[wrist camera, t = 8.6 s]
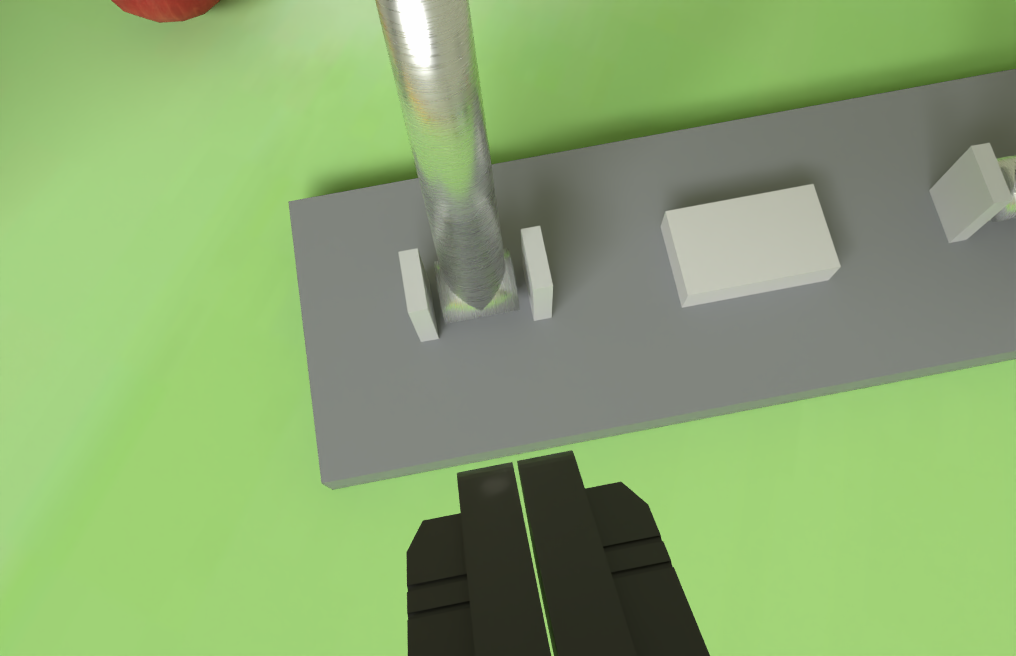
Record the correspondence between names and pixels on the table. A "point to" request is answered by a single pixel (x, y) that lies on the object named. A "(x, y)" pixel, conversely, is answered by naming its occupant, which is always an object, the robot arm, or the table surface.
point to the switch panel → (668, 281)
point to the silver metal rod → (1012, 170)
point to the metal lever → (450, 152)
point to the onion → (166, 8)
